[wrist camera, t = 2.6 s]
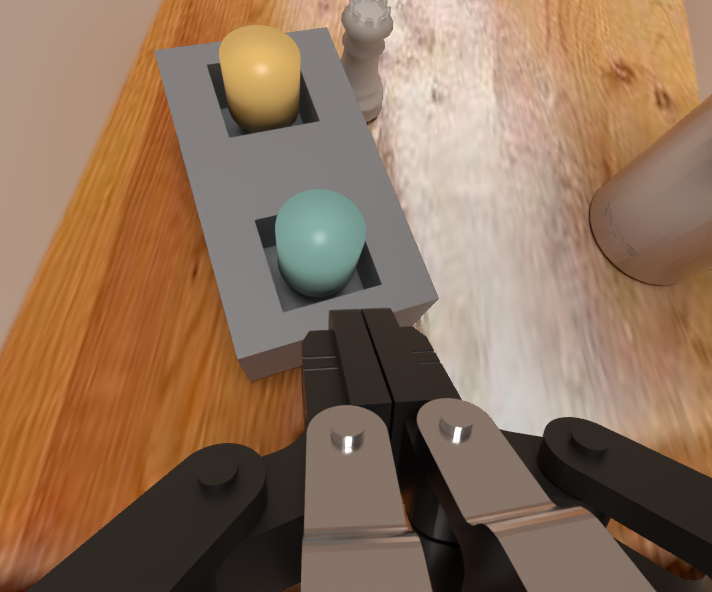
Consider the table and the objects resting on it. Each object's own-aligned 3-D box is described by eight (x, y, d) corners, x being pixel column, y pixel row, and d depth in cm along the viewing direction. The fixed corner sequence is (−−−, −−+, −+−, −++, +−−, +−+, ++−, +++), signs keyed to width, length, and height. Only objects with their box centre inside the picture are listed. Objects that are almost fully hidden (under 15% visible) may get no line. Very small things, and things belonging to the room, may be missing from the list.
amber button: (287, 73, 26) (287, 20, 23) (307, 127, 25) (310, 79, 22) (220, 84, 25) (210, 30, 22) (238, 140, 24) (230, 93, 21)
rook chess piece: (312, 92, 34) (318, -10, 26) (361, 74, 35) (381, -28, 27) (342, 136, 33) (358, 43, 25) (391, 116, 34) (420, 22, 27)
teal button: (341, 217, 24) (349, 180, 20) (365, 285, 23) (378, 257, 19) (267, 235, 23) (264, 199, 19) (290, 306, 22) (290, 281, 18)
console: (319, 110, 33) (326, 27, 27) (404, 333, 28) (438, 298, 22) (183, 134, 31) (154, 50, 24) (250, 381, 26) (237, 359, 20)
